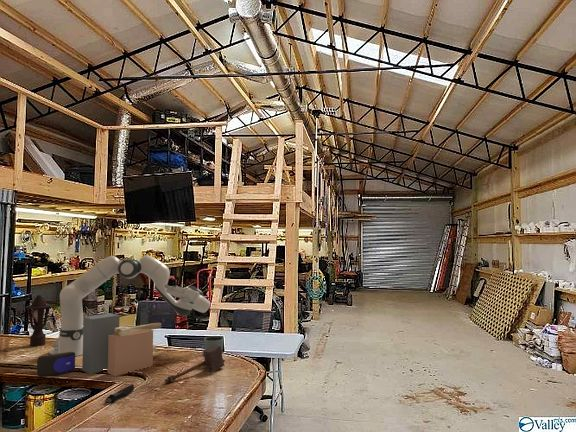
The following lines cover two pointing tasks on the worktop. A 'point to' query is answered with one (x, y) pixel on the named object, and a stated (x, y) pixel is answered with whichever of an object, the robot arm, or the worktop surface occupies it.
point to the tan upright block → (130, 352)
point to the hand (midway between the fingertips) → (170, 286)
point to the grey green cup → (213, 341)
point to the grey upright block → (97, 341)
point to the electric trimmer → (119, 394)
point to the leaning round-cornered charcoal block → (55, 364)
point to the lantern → (38, 320)
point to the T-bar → (136, 329)
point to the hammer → (205, 362)
